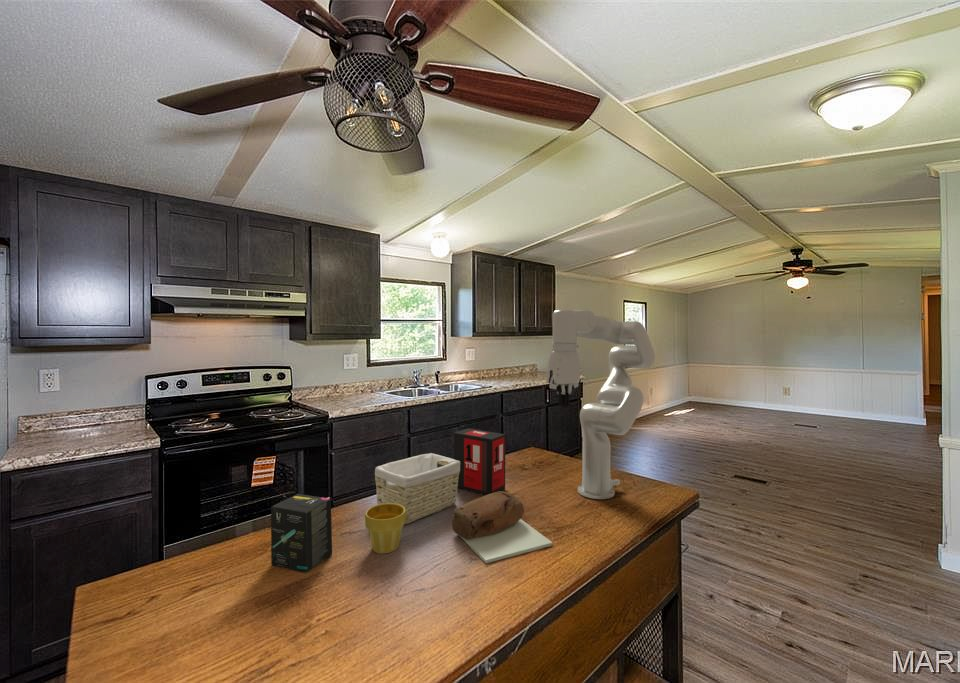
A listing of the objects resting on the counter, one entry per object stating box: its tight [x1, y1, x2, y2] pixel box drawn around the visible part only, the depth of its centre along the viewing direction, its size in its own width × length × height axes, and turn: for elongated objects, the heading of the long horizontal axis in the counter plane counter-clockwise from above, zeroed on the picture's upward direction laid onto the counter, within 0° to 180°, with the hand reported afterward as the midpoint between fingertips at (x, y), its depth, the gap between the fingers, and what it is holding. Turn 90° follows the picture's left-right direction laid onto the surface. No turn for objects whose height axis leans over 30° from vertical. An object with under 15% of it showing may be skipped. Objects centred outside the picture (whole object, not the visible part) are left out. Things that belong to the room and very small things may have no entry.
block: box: [451, 491, 525, 539], centre depth 123 cm, size 11×8×20 cm
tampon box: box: [270, 493, 333, 574], centre depth 106 cm, size 11×9×15 cm
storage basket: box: [374, 452, 460, 525], centre depth 137 cm, size 24×16×15 cm
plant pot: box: [364, 503, 406, 554], centre depth 112 cm, size 10×10×10 cm
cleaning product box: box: [453, 428, 506, 496], centre depth 155 cm, size 16×9×20 cm, turn 55°
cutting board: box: [458, 518, 553, 564], centre depth 117 cm, size 20×17×1 cm
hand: (563, 406), depth 136 cm, fingers closed
